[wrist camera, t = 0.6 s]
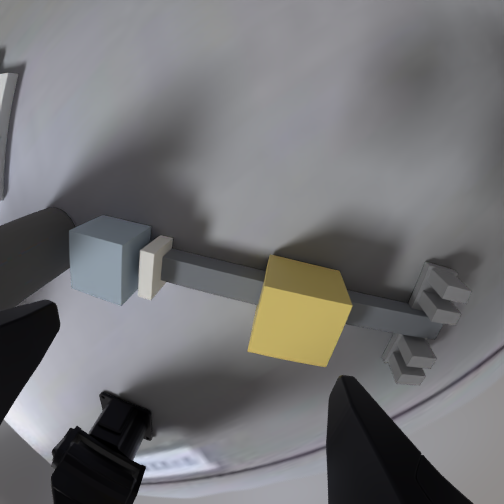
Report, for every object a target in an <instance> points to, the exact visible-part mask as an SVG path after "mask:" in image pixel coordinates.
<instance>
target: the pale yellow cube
mask: <svg viewBox="0 0 504 504" xmlns="http://www.w3.org/2000/svg"><path fill="white" fill-rule="evenodd" d="M352 306H353V305H352V303H351V300H350V297H349V294H348V292H347V289H346V286H345V284H344V281H343V279H342V276H341V273H340V271H338V270H333V269H329V268H325V267H321V266H317V265H312V264H308V263H304V262H300V261H296V260H291V259H287V258H283V257H279V256H275V255H270V256H269V260H268V264H267V268H266V274H265V279H264V283H263V287H262V291H261V295H260V299H259V303H258V305H257V308H256V312H255V317H254V322H253V327H252V331H251V336H250V341H249V346H248V351H247V352H252V353H256V354H261V355H265V356H270V357H275V358H279V359H284V360H289V361H294V362H300V363H305V364H310V365H316V366H322V367H326V366H327V364H328V361H329V359H330V357H331V355H332V353H333V351H334V348H335V346H336V344H337V342H338V339H339V337H340V335H341V332H342V330H343V328H344V325H345V323H346V321H347V318H348V316H349V313H350V311H351V308H352Z"/></svg>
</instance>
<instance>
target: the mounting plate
mask: <svg viewBox="0 0 504 504" xmlns="http://www.w3.org/2000/svg"><path fill="white" fill-rule="evenodd" d="M17 79H18V74H16V73H4V74H0V201H2V200H3V192H4V166H5V153H6V143H7V134H8V126H9V120H10V113H11V107H12V102H13V97H14V92H15V87H16V83H17Z"/></svg>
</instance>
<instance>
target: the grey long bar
mask: <svg viewBox="0 0 504 504" xmlns="http://www.w3.org/2000/svg"><path fill="white" fill-rule="evenodd" d="M150 237H151V226H148V225H144V224H140V223H135V222H131V221H127V220H123V219H118V218H114V217H110V216H106V215H102V216H99V217H97V218H95V219H93V220H90V221H88V222H86V223H84V224H82V225H80V226H77V227H75V228H73V229H71V230H69V253H70V273H71V287H72V288H73V289H75V290H78V291H81V292H83V293H86V294H89V295H91V296H94V297H97V298H100V299H102V300H105V301H108V302H111V303H114V304H117V305H120V306H122V305H123V304H124V303H125V302H126V301H127V300H128V299H129V298H130V296H131V295H132V294H133V293H134V292H135V291H136V290H137V289H138V296H139V297H142V298H145V299H148V300H152V299H153V297H154V296H155V295H156V294H157V293H158V291H159V290H160V289H161V288H162V287H163V285H164V284H165V283H166V282H169V283H173V284H176V285H180V286H184V287H188V288H191V289H195V290H199V291H203V292H207V293H211V294H214V295H218V296H222V297H226V298H230V299H234V300H238V301H243V302H247V303H251V304H255V305H258V303H259V299H260V295H261V291H262V287H263V283H264V279H265V274H266V271H263V270H259V269H255V268H251V267H246V266H242V265H238V264H234V263H230V262H226V261H222V260H217V259H213V258H209V257H205V256H201V255H197V254H193V253H189V252H185V251H181V250H177V249H173V248H172V243H173V238H171V237H167V236H162V235H160V236H159V237H157V238H156V239H155V240H153V241H152V242H151V243H150ZM347 292H348V294H349V297H350V300H351V303H352V305H353V306H352V308H351V311H350V313H349V316H348V318H347V321H346V323H345V324H348V325H353V326H358V327H363V328H369V329H374V330H380V331H385V332H391V333H397V334H403V335H409V336H415V337H421V338H428V339H434V340H435V339H436V337H437V335H438V333H439V332H440V330H441V328H442V326H443V324H442V323H436V322H431V320H430V319H429V318H428V316H427V315H426V313H425V312H424V311H422V310H417V309H412V308H411V307H410V305H409V304H408V303H404V302H400V301H395V300H390V299H386V298H381V297H377V296H372V295H368V294H363V293H359V292H354V291H350V290H347Z"/></svg>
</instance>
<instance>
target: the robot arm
mask: <svg viewBox="0 0 504 504" xmlns="http://www.w3.org/2000/svg"><path fill="white" fill-rule="evenodd" d="M59 329H60V320H59V314H58V308H57V305H56V304H55V303H54V302H52V301H49V300H41V301H37V302H33V303H29V304H25V305H22V306H18V307H14V308H10V309H6V310H2V311H0V425H1V423H2V421H3V419H4V418H5V416H6V414H7V413H8V411H9V410H10V408H11V406H12V405H13V403H14V401H15V400H16V398H17V397H18V395H19V394H20V392H21V391H22V389H23V388H24V386H25V384H26V383H27V381H28V380H29V378H30V377H31V376H32V374H33V373H34V371H35V370H36V368H37V367H38V365H39V364H40V362H41V360H42V359H43V357H44V355H45V353H46V352H47V350H48V348H49V346H50V345H51V343H52V341H53V339H54V338H55V336H56V334H57V333H58V331H59ZM99 396H100V401H101V405H102V409H103V411H102V413H101V414H100V416H99V417H98V419H97V421H96V422H95V424H94V425H93V427H92V429H91V430H90V432H89V434H87V433H86V432H84V431H83V430H81V428H80V427H78V426H76V428H75V429H73V428H70V429H69V431H68V432H67V434H66V435H65V436H64V438H63V439H62V440H61V441H60V442H59V443H58V444H57V445H56V446H55V447H54V449H53V450H52V455H53V460H52V461H53V462H52V465H51V466H52V467H53V468H54V469H55V471H54V473H53V474H52V476H51V488H52V497H53V504H133V502H134V500H135V498H136V496H137V493H138V491H139V487H140V484H141V481H142V478H143V475H144V472H145V469H146V466H144V465H140V464H138V463H136V462H134V461H133V459H134V457H135V455H136V453H137V451H138V448H139V446H140V444H141V442H142V440H143V439H146V440H149V441H151V440H152V422H151V412H150V411H149V410H147V409H144V408H141V407H139V406H136V405H133V404H131V403H128V402H126V401H123V400H121V399H118V398H116V397H113V396H111V395H109V394H106V393H104V392H101V393H100V395H99ZM326 454H327V474H328V504H473V503H472V502H471V501H470V500H469V499H467V498H466V497H465V496H464V495H463V494H462V493H461V492H460V491H458V490H457V489H456V488H455V487H454V486H453V485H452V484H451V483H450V482H449V481H447V480H446V479H445V478H444V477H443V476H442V475H441V474H440V473H439V472H438V471H437V470H436V469H435V467H434V466H433V465H432V464H431V463H430V462H429V461H428V460H427V459H426V458H425V456H424V455H421V452H420V451H419V450H418V449H417V448H416V446H415V445H414V444H413V443H412V442H411V441H410V440H409V439H408V437H407V436H406V435H405V434H404V433H403V432H402V431H401V429H400V428H399V427H398V426H397V425H396V424H395V423H394V422H393V420H392V419H391V418H390V417H389V416H388V415H387V414H386V412H385V411H384V410H383V409H382V408H381V407H380V406H379V405H378V403H377V402H376V401H375V400H374V399H373V398H372V397H371V395H370V394H369V393H368V392H367V391H366V390H365V389H364V387H363V386H362V385H361V384H360V383H359V382H358V381H357V379H356V378H355V377H353V376H346V375H341V376H340V377H339V378H338V379H337V381H336V384H335V386H334V388H333V390H332V392H331V394H330V397H329V404H328V423H327V439H326Z"/></svg>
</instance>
